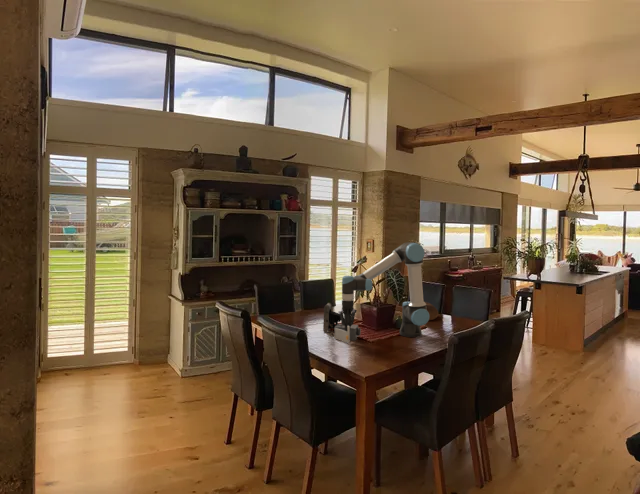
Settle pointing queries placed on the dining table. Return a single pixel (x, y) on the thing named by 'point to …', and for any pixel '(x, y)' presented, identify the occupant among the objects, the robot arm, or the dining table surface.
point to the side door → (342, 335)
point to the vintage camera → (330, 318)
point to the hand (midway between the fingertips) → (347, 335)
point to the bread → (431, 311)
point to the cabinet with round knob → (351, 330)
